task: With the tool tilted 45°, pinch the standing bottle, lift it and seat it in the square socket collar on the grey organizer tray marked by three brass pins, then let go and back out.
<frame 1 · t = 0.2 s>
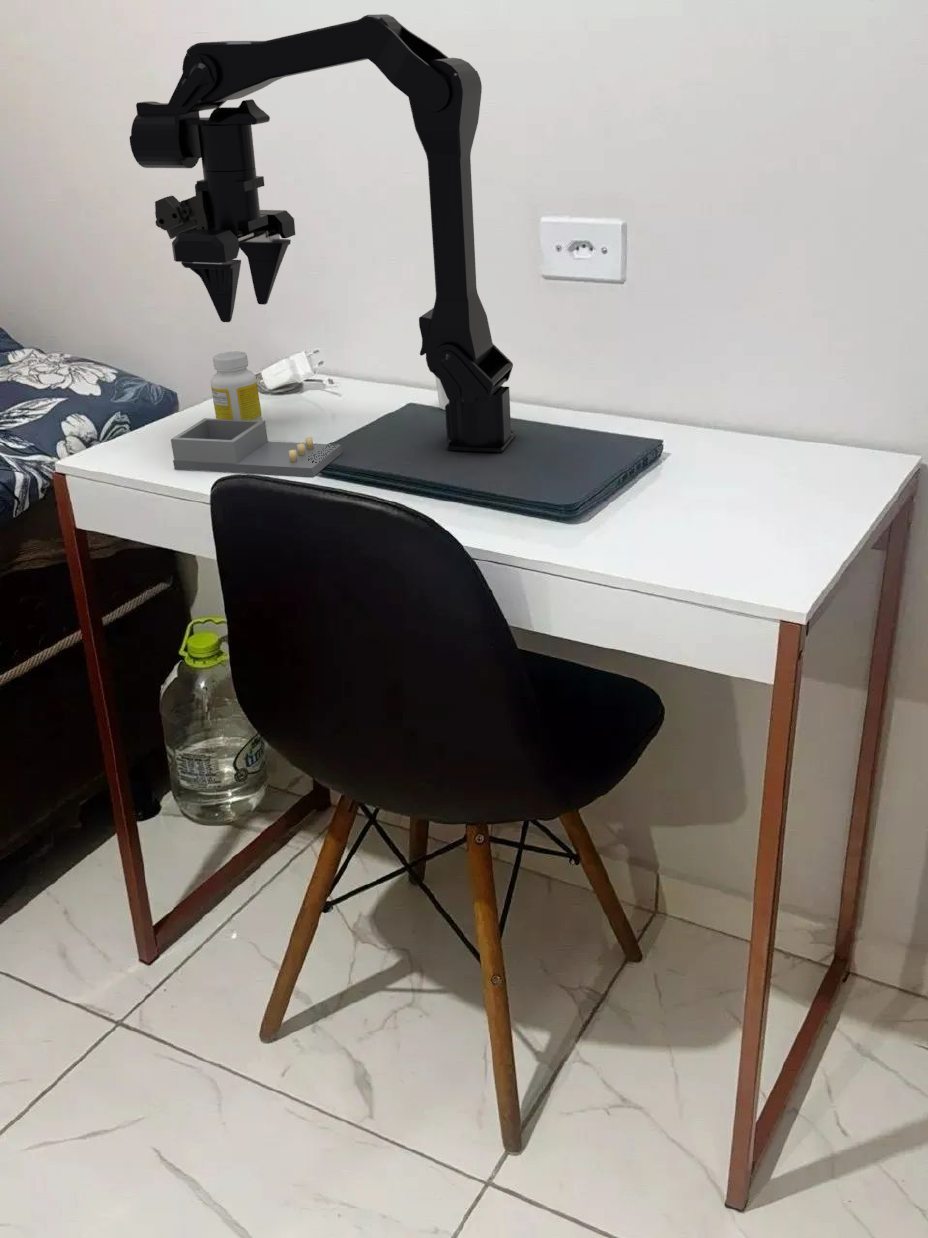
hand: (244, 312, 136), 15 cm above the table, tool pointing down, fingers open, 9 cm apart
milkshake: (452, 407, 149), on the table
grey organizer tray: (258, 461, 133), on the table
supplement bottle: (241, 437, 143), on the table
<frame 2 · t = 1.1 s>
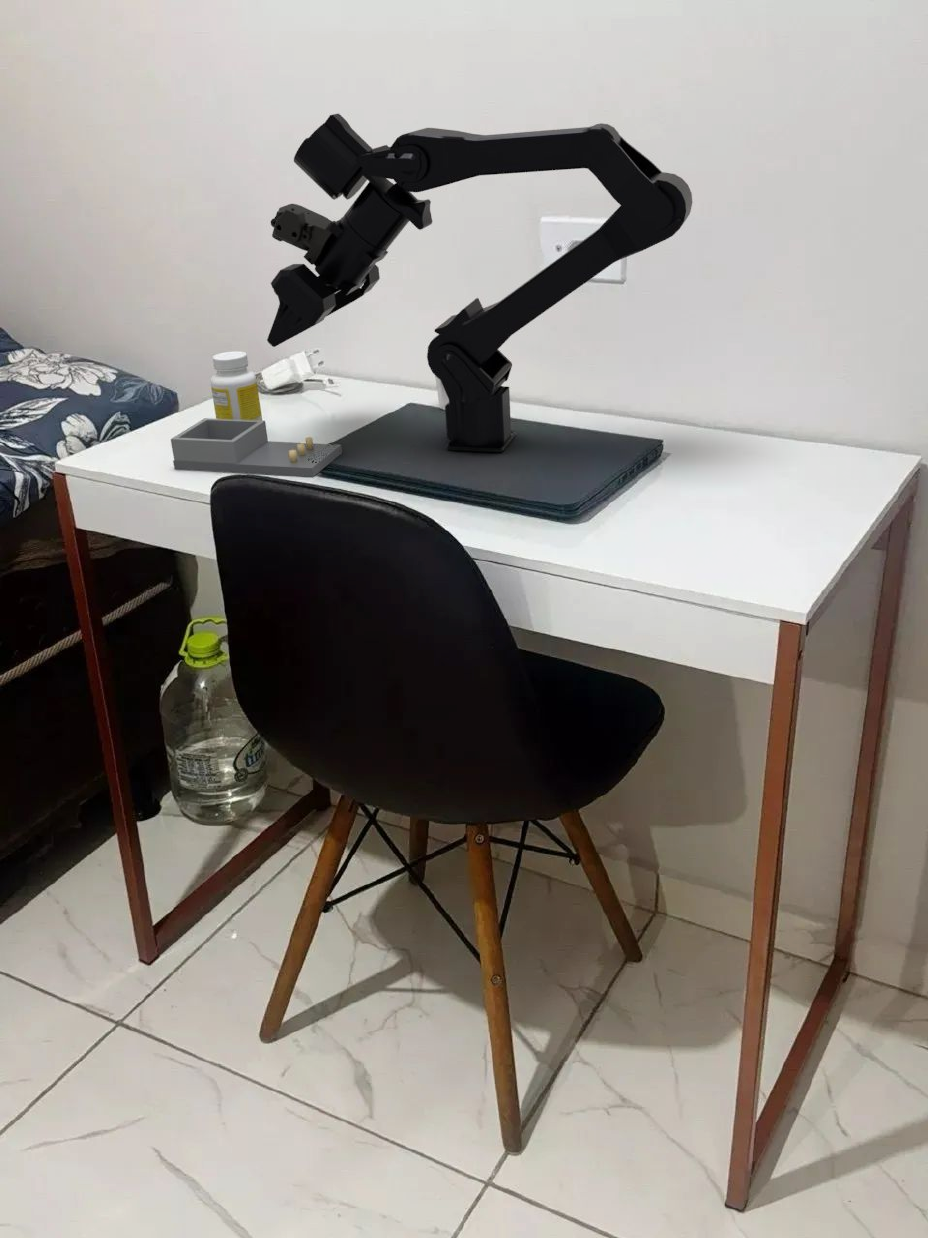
hand: (287, 333, 135), 12 cm above the table, tool tilted 45°, fingers open, 9 cm apart
nothing on the table moved.
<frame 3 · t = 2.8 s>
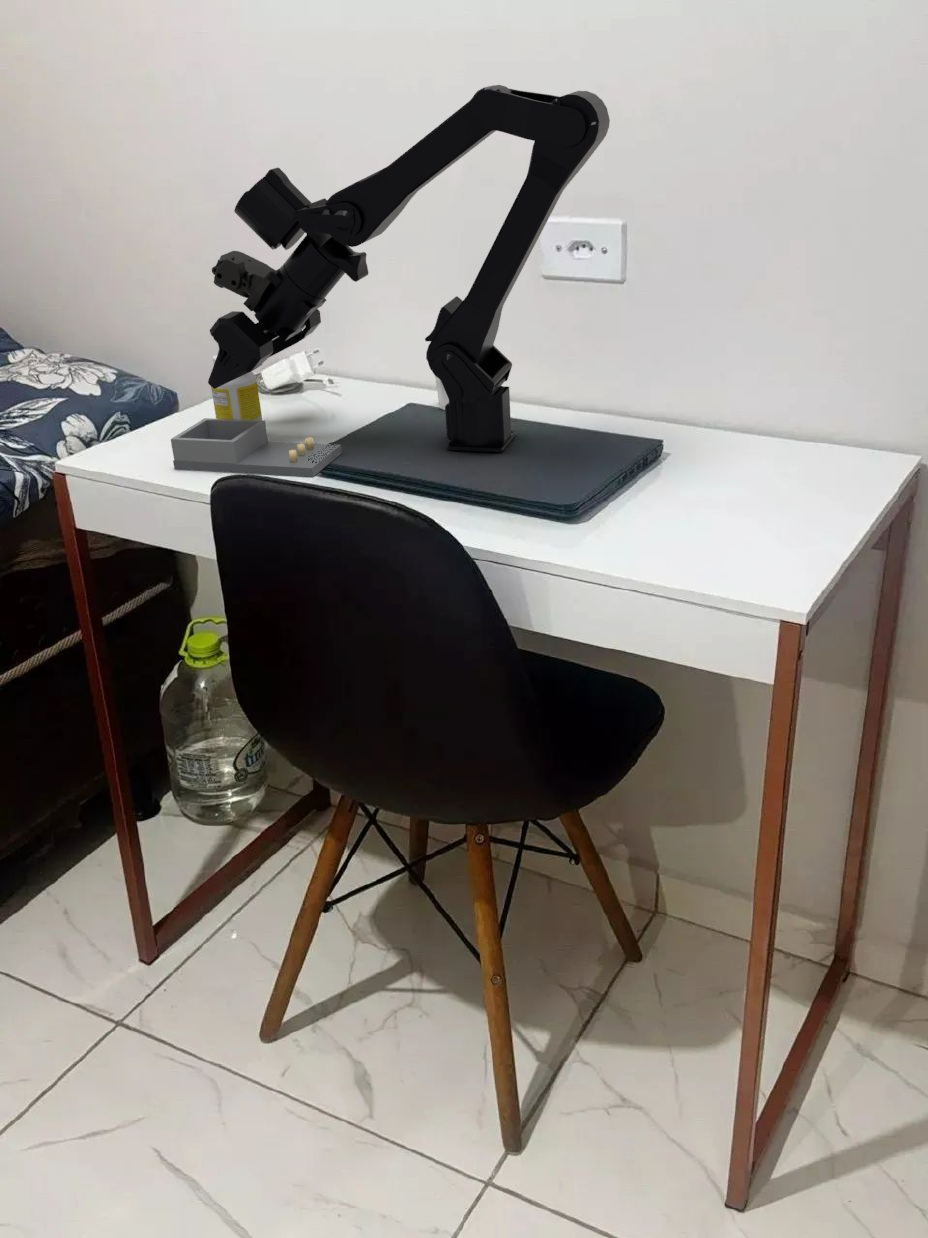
hand: (228, 374, 139), 7 cm above the table, tool tilted 45°, fingers open, 9 cm apart
nothing on the table moved.
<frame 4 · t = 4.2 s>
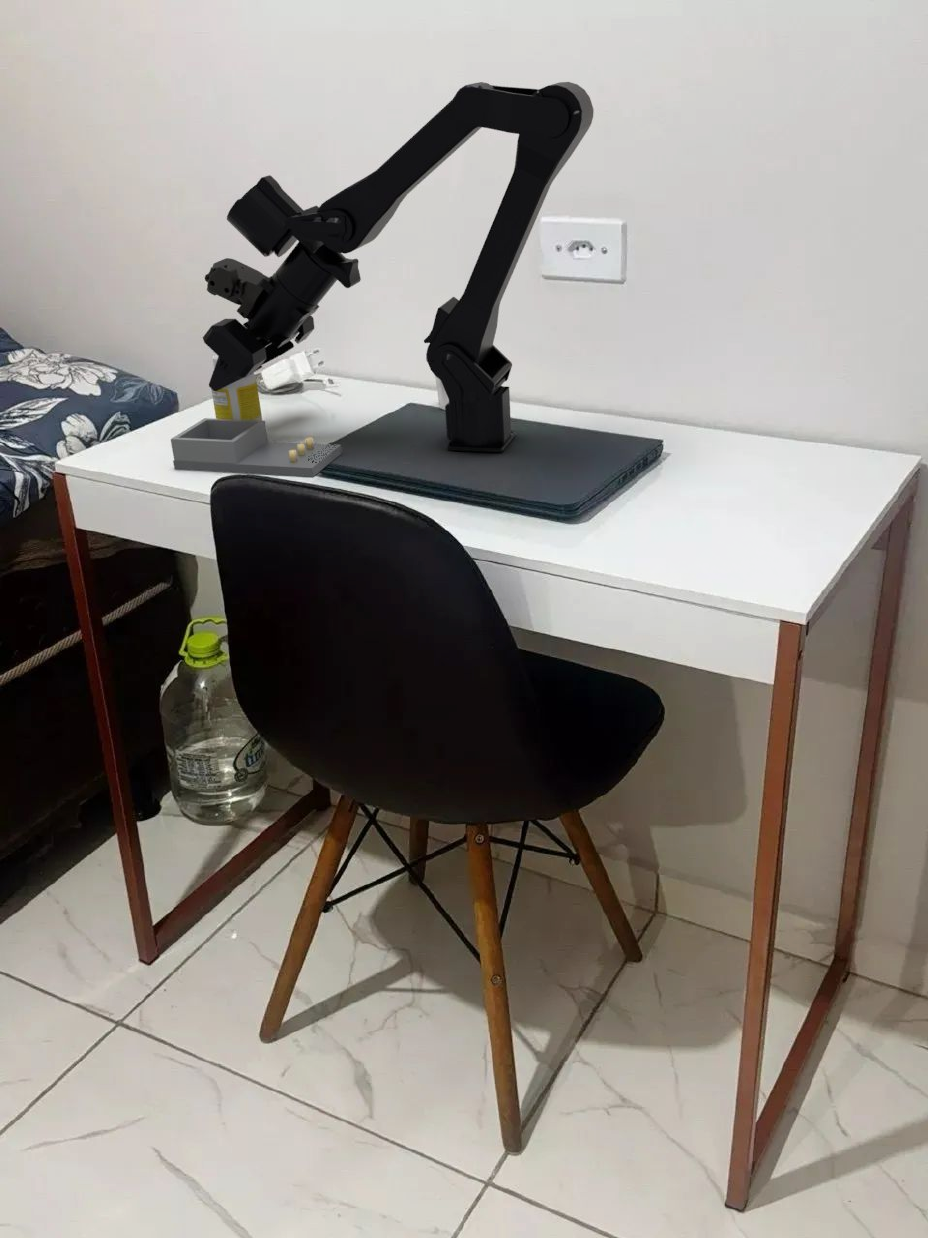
hand: (223, 381, 140), 7 cm above the table, tool tilted 45°, fingers closed on supplement bottle, 5 cm apart
supplement bottle: (241, 437, 143), on the table, touching gripper
everything else where it was.
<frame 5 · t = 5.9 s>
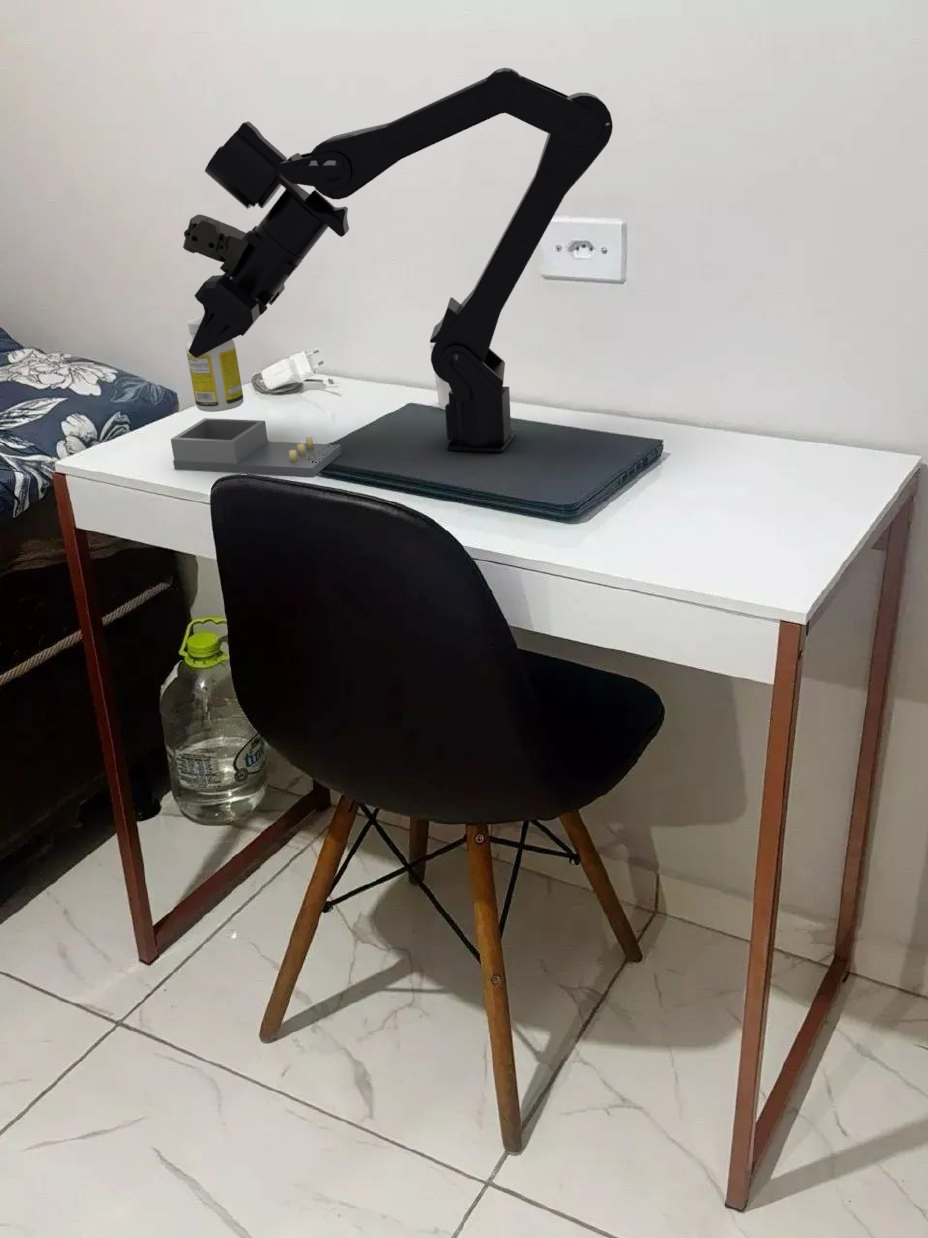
hand: (198, 348, 131), 12 cm above the table, tool tilted 45°, fingers closed on supplement bottle, 5 cm apart
supplement bottle: (220, 407, 134), point 5 cm above the table, touching gripper
everything else where it was.
when the fingers open (8 cm above the table, at t = 7.8 s): supplement bottle stays where it is, resting on grey organizer tray.
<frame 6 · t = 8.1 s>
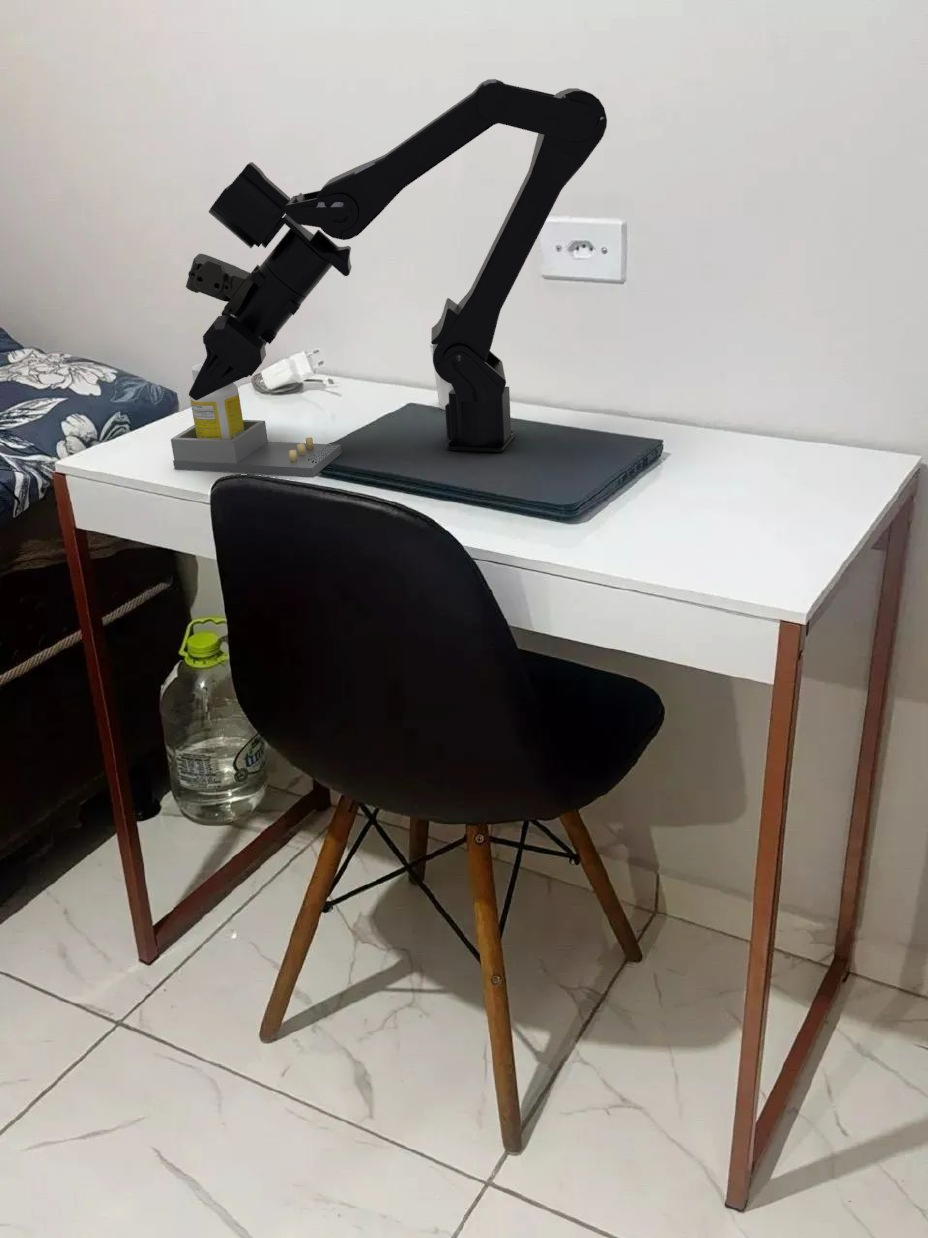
hand: (199, 386, 131), 9 cm above the table, tool tilted 45°, fingers open, 8 cm apart
supplement bottle: (223, 452, 134), point 1 cm above the table, touching grey organizer tray
everything else where it was.
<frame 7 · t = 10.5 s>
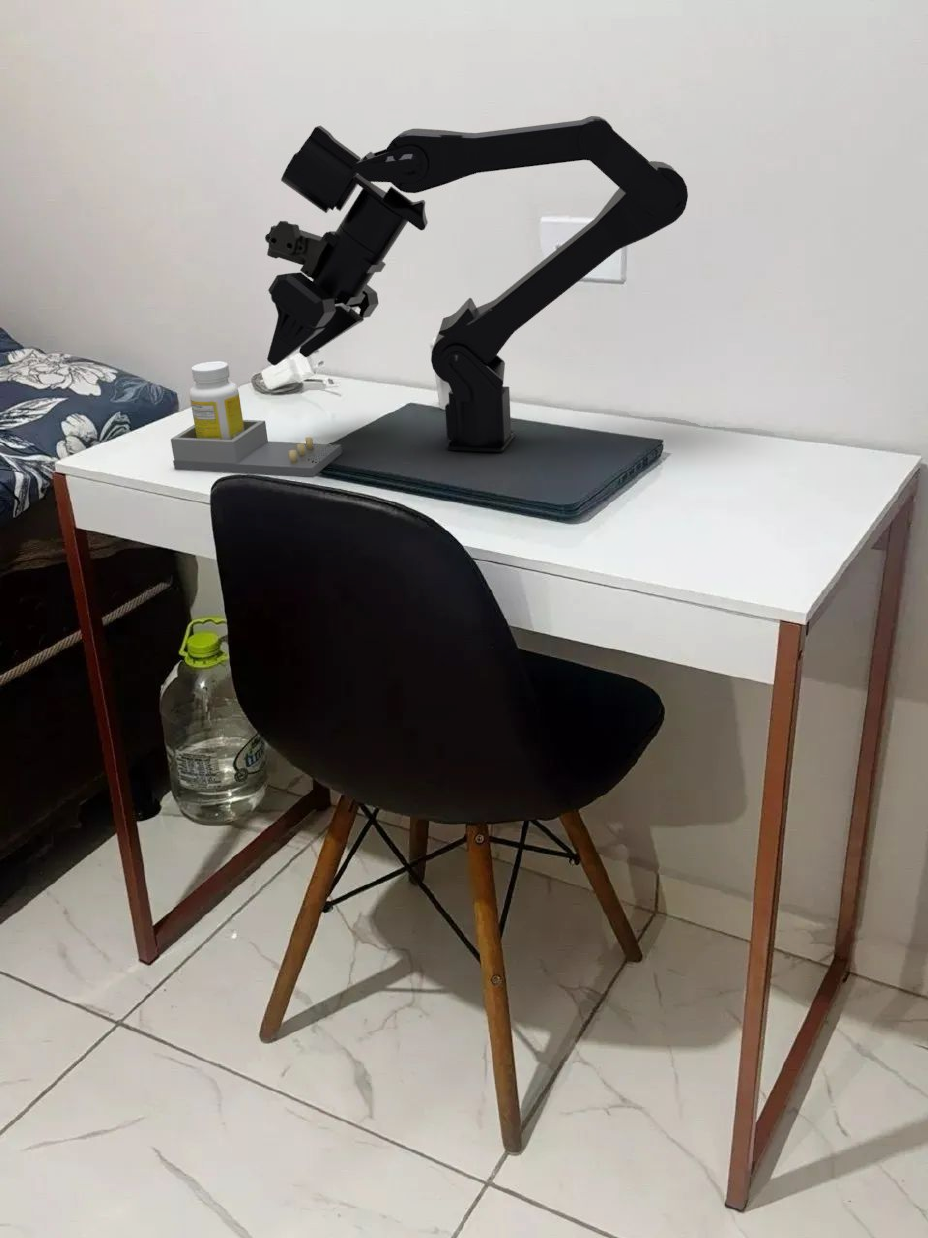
hand: (287, 358, 131), 11 cm above the table, tool tilted 40°, fingers open, 9 cm apart
nothing on the table moved.
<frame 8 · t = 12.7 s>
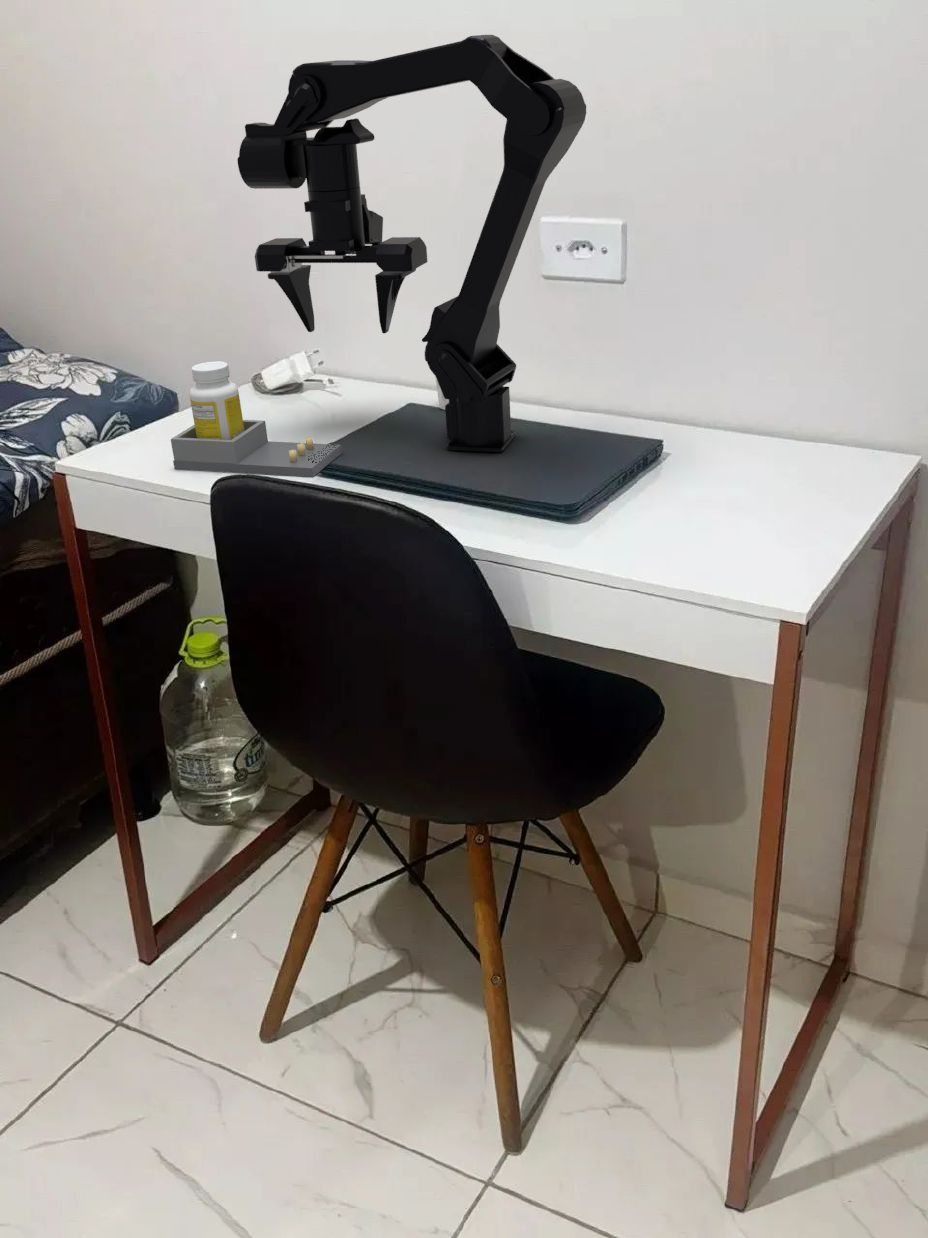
hand: (348, 331, 136), 12 cm above the table, tool pointing down, fingers open, 9 cm apart
nothing on the table moved.
at the end: supplement bottle 0.1 cm from the target spot on the grey organizer tray, point 0.8 cm above the grey organizer tray's base; supplement bottle tilted 0°; the gripper is holding nothing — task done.
